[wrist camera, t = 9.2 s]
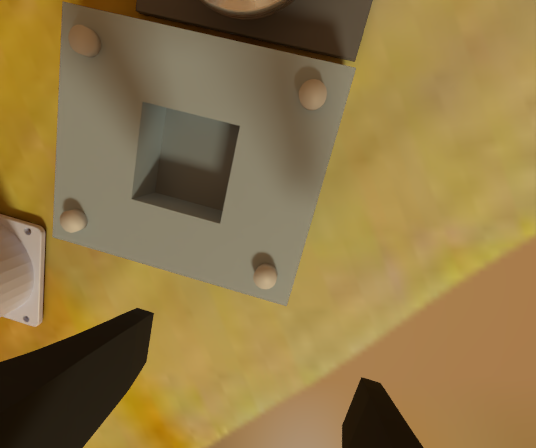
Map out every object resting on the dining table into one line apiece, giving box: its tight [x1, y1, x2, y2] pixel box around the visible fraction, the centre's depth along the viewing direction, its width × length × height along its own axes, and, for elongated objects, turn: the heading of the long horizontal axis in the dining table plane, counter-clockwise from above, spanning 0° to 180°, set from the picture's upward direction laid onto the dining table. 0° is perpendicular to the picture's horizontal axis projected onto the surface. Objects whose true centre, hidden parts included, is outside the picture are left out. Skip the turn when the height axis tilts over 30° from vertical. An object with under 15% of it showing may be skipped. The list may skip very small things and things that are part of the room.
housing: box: [53, 2, 356, 306], centre depth 17 cm, size 14×12×4 cm
